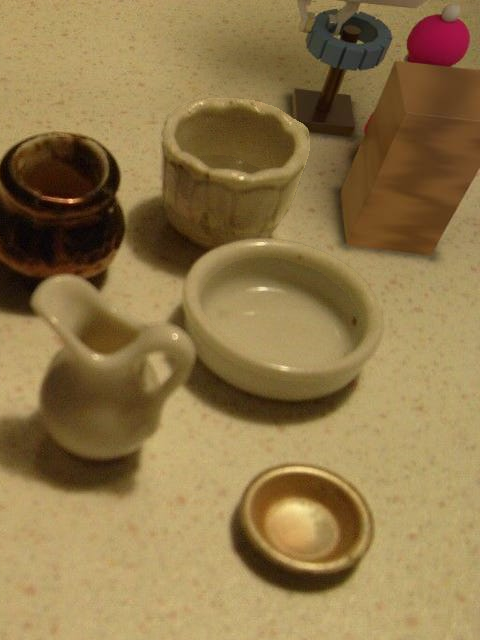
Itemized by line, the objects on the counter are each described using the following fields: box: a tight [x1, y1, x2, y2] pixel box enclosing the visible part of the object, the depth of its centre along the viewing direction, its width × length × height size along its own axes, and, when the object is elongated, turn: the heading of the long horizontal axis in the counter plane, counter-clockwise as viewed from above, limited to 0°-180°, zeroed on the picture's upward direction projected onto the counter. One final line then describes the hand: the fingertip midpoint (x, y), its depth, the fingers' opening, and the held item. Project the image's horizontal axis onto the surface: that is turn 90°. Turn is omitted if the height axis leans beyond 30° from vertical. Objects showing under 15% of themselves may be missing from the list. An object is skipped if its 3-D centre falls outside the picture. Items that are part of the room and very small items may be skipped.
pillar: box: [340, 60, 480, 256], centre depth 89 cm, size 9×9×17 cm
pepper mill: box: [363, 3, 471, 136], centre depth 95 cm, size 7×7×20 cm
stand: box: [291, 25, 361, 138], centre depth 104 cm, size 7×7×12 cm
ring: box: [305, 8, 393, 72], centre depth 100 cm, size 9×9×2 cm
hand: (317, 31), depth 100 cm, fingers closed on ring, 2 cm apart
